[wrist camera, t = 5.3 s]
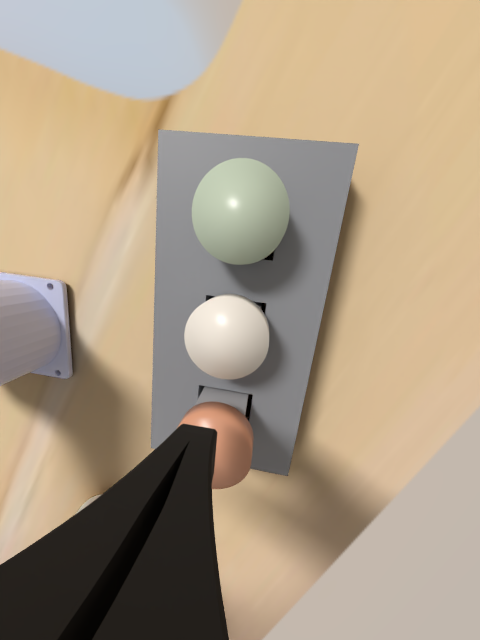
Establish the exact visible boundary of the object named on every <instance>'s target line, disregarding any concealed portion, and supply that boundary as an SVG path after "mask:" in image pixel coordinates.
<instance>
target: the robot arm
mask: <svg viewBox="0 0 480 640" xmlns="http://www.w3.org/2000/svg"><path fill="white" fill-rule="evenodd" d="M52 285H53V288H52ZM27 373H35V374H40V375H46V376H51V377H57V378H62V379H68V378H69V377H71V376H72V375H73V369H72V355H71V341H70V327H69V314H68V300H67V287H66V284H65V283H64V282H63V281H61V280H54V279H47V278H40V277H33V276H26V275H19V274H12V273H5V272H0V386H1V385H3V384H6V383H8V382H10V381H12V380H14V379H16V378H19V377H21V376H23V375H25V374H27ZM216 444H217V431H216V430H215V429H212V428H206V427H200V426H194V425H189V424H181V425H180V426H179V427H178V428H177V429H176V430H175V431H174V432H173V433H172V434H171V435H170V436H169V437H168V438H167V439H166V440H165V441H163V442H162V443H161V444H160V445H159V446H158V447H157V448H156V449H155V450H154V451H153V452H152V453H151V454H149V455H148V456H147V457H146V458H145V459H144V460H143V461H142V462H141V463H139V464H138V465H137V466H136V467H135V468H134V469H133V470H131V471H130V472H129V473H128V474H127V475H125V476H124V477H123V478H122V479H121V480H119V481H118V482H117V483H116V484H114V485H113V486H112V487H111V488H110V489H108V490H107V491H106V492H105V493H103V494H102V495H101V496H99V497H98V498H97V499H96V500H94V501H93V502H92V503H90V504H89V505H88V506H86V507H85V508H84V509H82V510H81V511H80V512H78V513H77V514H75V515H74V516H73V517H71V518H70V519H68V520H67V521H66V522H64V523H63V524H61V525H60V526H58V527H57V528H56V529H54V530H53V531H51V532H50V533H48V534H47V535H45V536H44V537H42V538H41V539H39V540H38V541H36V542H35V543H33V544H32V545H30V546H29V547H27V548H26V549H24V550H23V551H21V552H20V553H18V554H17V555H15V556H14V557H12V558H10V559H9V560H7V561H6V562H4V563H3V564H1V565H0V640H229V638H228V631H227V625H226V619H225V612H224V606H223V600H222V593H221V586H220V578H219V570H218V562H217V553H216V544H215V534H214V522H213V506H212V480H213V475H214V467H215V455H216Z"/></svg>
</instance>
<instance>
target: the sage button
mask: <svg viewBox="0 0 480 640" xmlns="http://www.w3.org/2000/svg"><path fill="white" fill-rule="evenodd" d="M289 214H290V206H289V198H288V195H287V191H286V189H285V186H284V184H283V183H282V181H281V179H280V178H279V176H278V175H277V174H276V173H275V172H274V171H273V170H272V169H271V168H270V167H268V166H267V165H265V164H264V163H261V162H259V161H257V160H254V159H249V158H235V159H230V160H227V161H224V162H222V163H220V164H218V165H217V166H215V167H214V168H212V169H211V170H210V171H209V172H208V173H207V174H206V175H205V176H204V177H203V179H202V180H201V182H200V183H199V185H198V187H197V189H196V192H195V195H194V198H193V203H192V222H193V227H194V230H195V233H196V236H197V238H198V240H199V241H200V243H201V244H202V246H203V247H204V248H205V249H206V250H207V252H209V253H210V254H211V255H212V256H214V257H215V258H217V259H219V260H221V261H223V262H226V263H229V264H235V265H244V264H252V263H256V262H258V261H261V260H262V259H264V258H266V257H267V256H269V255H270V254H271V253H272V252H273V251H274V250H275V249H276V248H277V247H278V245H279V244H280V242H281V240H282V238H283V236H284V234H285V232H286V229H287V226H288V221H289Z"/></svg>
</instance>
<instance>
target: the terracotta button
mask: <svg viewBox="0 0 480 640" xmlns="http://www.w3.org/2000/svg"><path fill="white" fill-rule="evenodd" d="M247 401H248V394H247V393H241V392H236V391H230V390H224V389H219V388H213V387H207V386H205V387H204V389H203V391H202V392H201V394H200V396H199V398H198V400H197V402H196V404H195V406H193V407H192V408H191V409H189V410H188V411H187V412H186V414H185V415H184V417H183V418H182V420H181V422H180V424H179V425H178V427H179V426H180V425H181V424H189V425H194V426H200V427H206V428H212V429H215V430H216V431H217V444H216V455H215V467H214V475H213V480H212V489H223V488H228V487H231V486H234V485H236V484H237V483H239V482H240V481H242V480H243V479H244V478H245V477H246V475H247V474H248V472H249V470H250V467H251V461H252V451H253V440H254V436H253V430H252V427H251V425H250V423H249V421H248V420H247V418H246V417H245V415H246V408H247ZM178 427H177V428H178Z"/></svg>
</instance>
